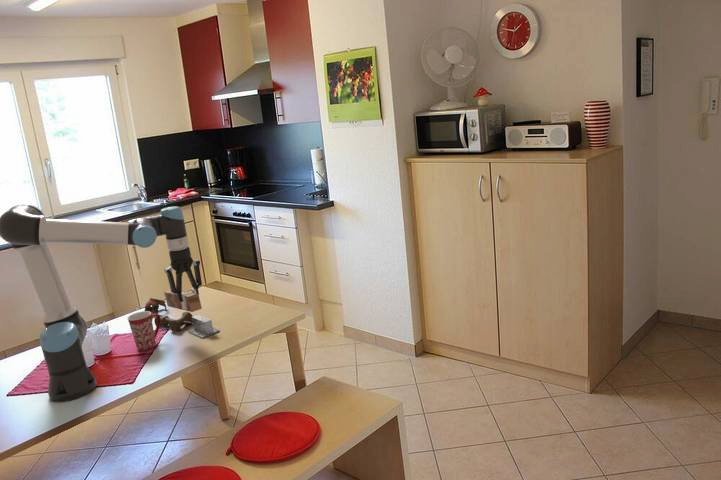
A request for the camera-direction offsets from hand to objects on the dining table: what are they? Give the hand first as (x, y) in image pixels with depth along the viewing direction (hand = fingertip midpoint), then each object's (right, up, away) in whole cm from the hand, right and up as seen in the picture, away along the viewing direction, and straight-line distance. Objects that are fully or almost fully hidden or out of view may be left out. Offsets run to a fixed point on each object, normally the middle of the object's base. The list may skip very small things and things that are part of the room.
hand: (190, 306), depth 226 cm
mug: (-19, -17, +12) cm, 28 cm away
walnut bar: (-4, -1, +5) cm, 7 cm away
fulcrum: (0, -12, +18) cm, 22 cm away
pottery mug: (-30, -9, +48) cm, 57 cm away
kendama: (-14, -12, +28) cm, 34 cm away
